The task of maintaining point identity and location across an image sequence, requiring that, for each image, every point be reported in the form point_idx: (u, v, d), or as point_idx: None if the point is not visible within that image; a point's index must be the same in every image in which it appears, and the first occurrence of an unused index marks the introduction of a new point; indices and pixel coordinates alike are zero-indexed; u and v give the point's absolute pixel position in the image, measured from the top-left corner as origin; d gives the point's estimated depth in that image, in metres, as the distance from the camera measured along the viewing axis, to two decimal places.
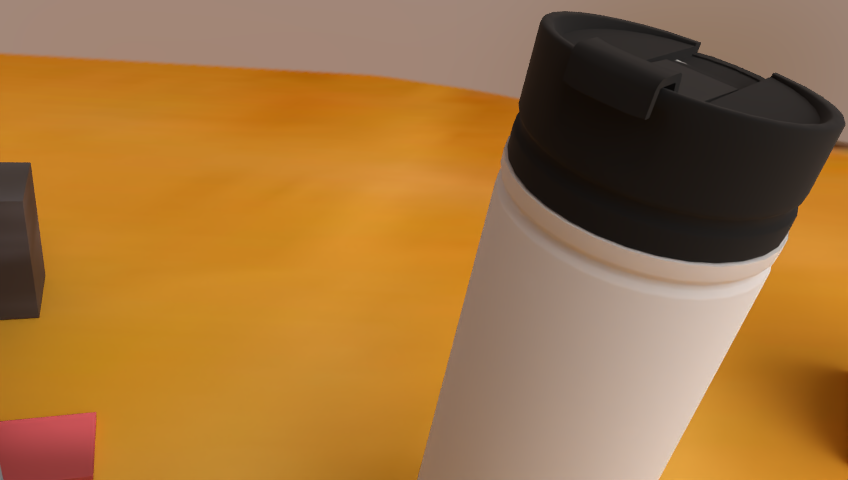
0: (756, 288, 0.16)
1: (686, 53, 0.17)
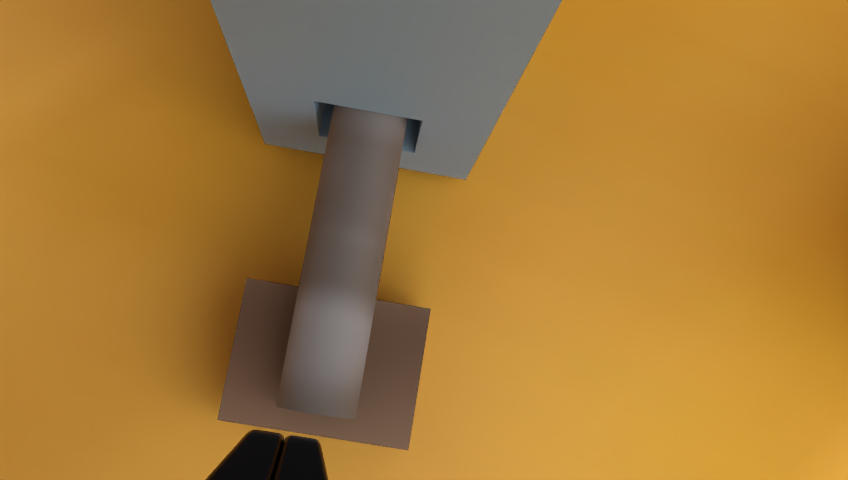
0: None
1: None
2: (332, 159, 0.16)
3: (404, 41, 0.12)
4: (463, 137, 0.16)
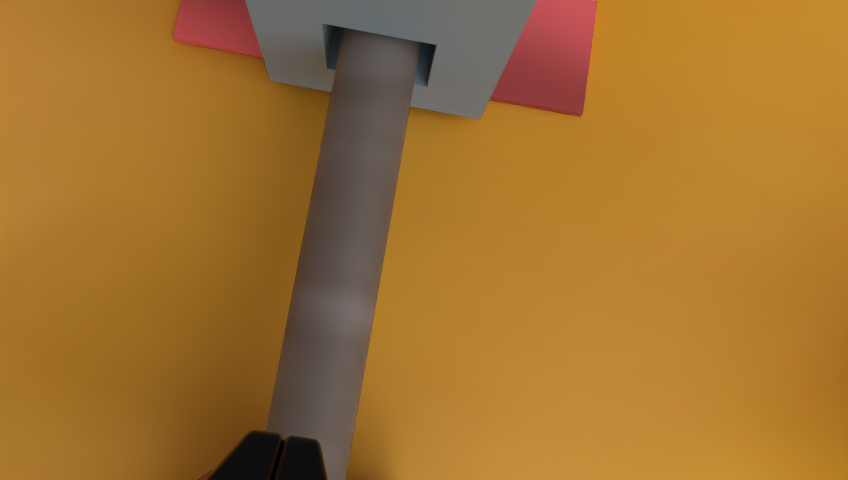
0: None
1: None
2: (289, 359, 0.14)
3: None
4: (480, 64, 0.15)
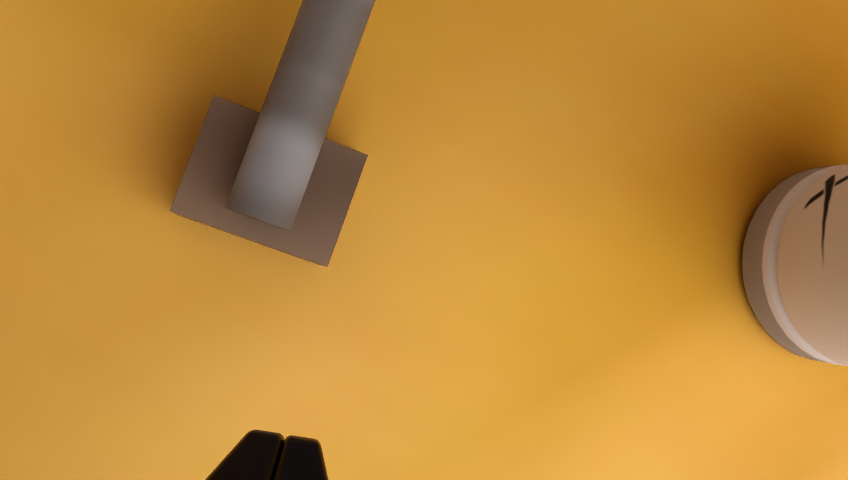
0: None
1: None
2: (310, 6, 0.18)
3: None
4: None
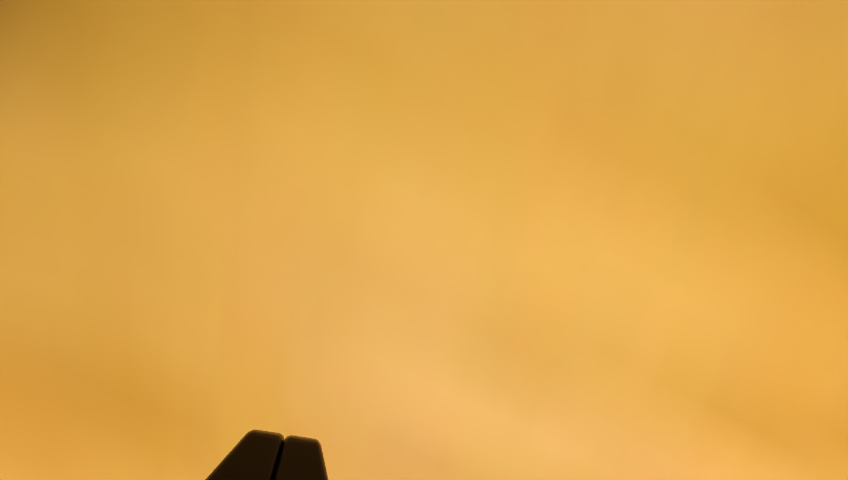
0: None
1: None
2: None
3: None
4: None
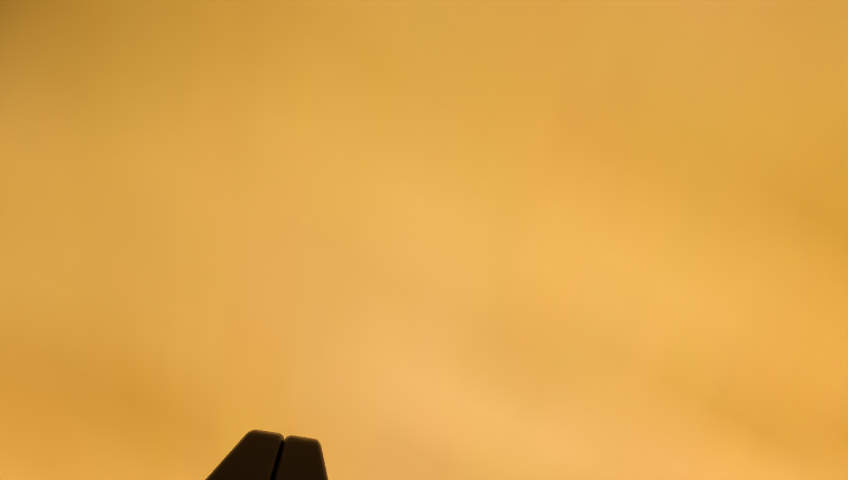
0: None
1: None
2: None
3: None
4: None
